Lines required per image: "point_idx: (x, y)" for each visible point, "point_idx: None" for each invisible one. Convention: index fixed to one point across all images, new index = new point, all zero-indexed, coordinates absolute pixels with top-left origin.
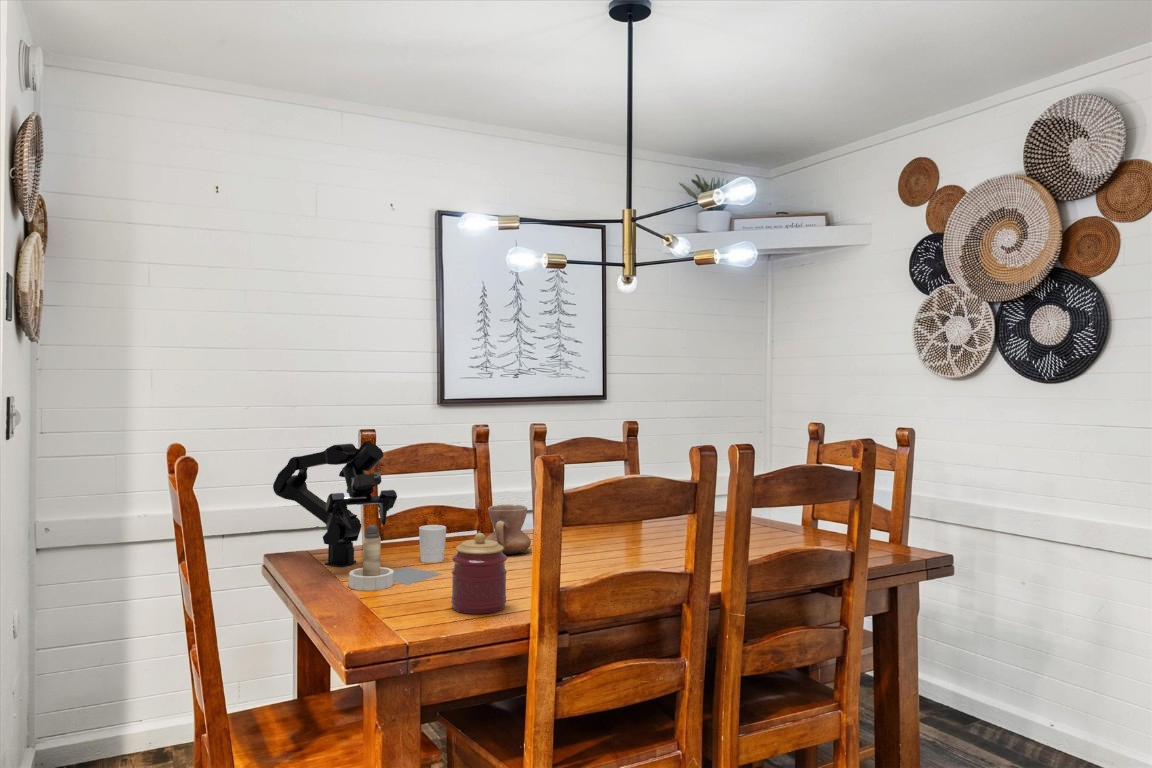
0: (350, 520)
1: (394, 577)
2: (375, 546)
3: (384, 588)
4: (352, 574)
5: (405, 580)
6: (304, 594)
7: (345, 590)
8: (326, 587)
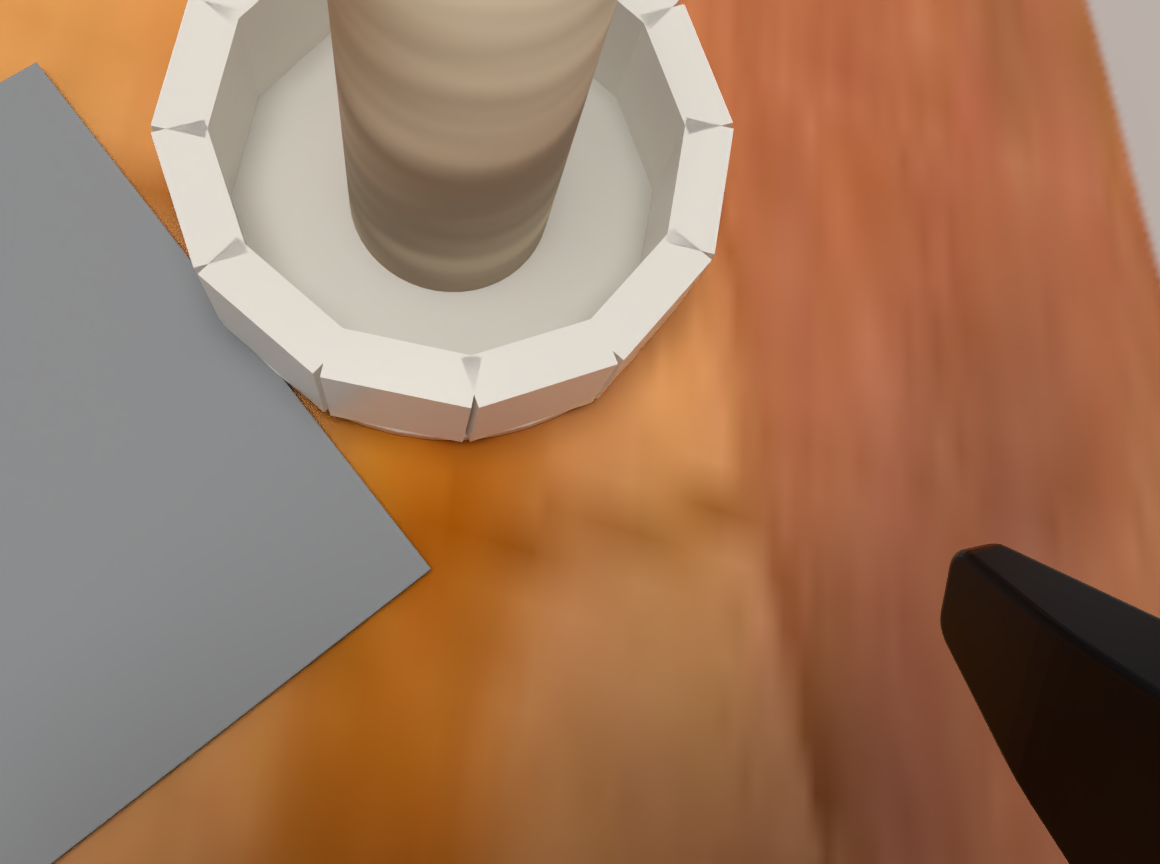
0: (1101, 642)
1: (112, 447)
2: None
3: None
4: (696, 86)
5: (10, 258)
6: (1094, 115)
7: None
8: (909, 300)
